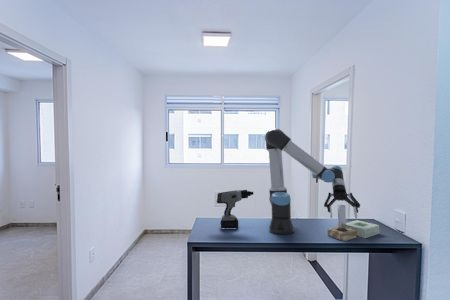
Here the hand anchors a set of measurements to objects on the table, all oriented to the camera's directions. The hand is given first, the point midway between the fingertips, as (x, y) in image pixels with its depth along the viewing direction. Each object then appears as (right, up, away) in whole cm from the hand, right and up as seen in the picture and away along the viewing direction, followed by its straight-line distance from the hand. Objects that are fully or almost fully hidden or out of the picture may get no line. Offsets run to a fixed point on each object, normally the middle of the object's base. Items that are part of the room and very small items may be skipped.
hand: (343, 217), depth 159 cm
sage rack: (+12, -10, +4) cm, 17 cm away
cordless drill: (-63, -12, +20) cm, 67 cm away
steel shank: (-2, -11, -2) cm, 11 cm away
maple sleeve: (-2, -11, -2) cm, 11 cm away
